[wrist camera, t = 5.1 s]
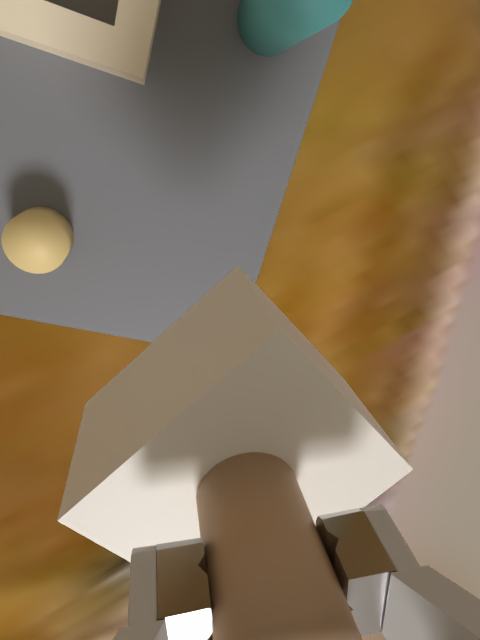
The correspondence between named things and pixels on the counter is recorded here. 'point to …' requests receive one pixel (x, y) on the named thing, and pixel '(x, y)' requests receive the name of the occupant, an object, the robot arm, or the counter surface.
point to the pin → (285, 22)
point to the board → (140, 156)
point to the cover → (233, 463)
